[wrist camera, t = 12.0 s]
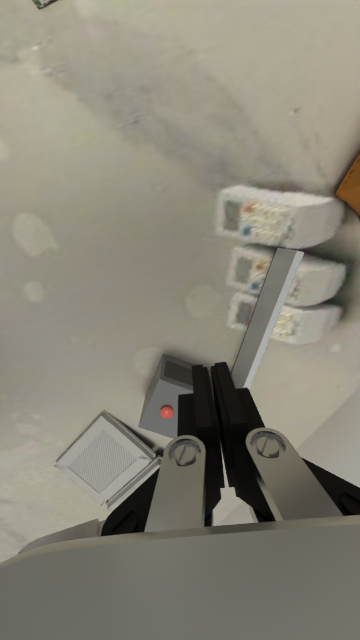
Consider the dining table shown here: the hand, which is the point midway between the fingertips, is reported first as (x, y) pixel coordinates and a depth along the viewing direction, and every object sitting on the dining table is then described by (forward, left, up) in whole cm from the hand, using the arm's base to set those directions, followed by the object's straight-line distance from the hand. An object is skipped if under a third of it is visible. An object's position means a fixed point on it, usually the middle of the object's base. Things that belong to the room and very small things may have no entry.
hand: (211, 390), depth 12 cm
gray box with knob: (+6, -15, -22) cm, 27 cm away
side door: (+10, -1, -22) cm, 24 cm away
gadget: (+3, -35, -23) cm, 42 cm away
